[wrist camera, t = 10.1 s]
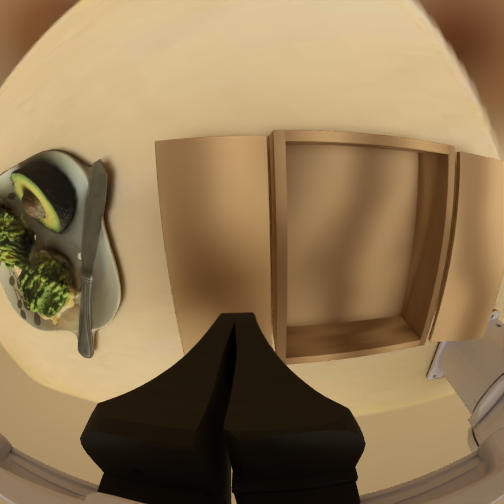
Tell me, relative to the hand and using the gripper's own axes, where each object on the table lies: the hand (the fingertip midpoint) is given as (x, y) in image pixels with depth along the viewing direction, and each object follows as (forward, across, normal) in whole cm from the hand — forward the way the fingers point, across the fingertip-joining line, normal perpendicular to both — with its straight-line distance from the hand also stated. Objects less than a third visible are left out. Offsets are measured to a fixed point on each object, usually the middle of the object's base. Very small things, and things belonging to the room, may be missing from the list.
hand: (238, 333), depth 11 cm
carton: (+10, -8, -1) cm, 13 cm away
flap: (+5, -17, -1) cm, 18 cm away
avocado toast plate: (+11, +18, -2) cm, 21 cm away
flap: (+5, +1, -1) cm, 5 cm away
